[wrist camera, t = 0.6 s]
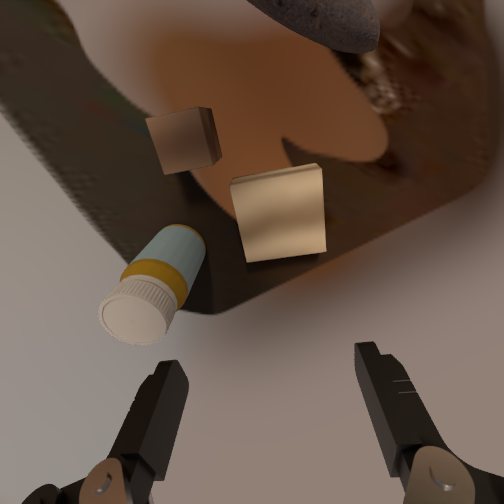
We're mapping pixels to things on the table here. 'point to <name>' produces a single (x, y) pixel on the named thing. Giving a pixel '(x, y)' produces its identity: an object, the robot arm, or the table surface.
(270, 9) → the perforated stone tool
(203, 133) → the walnut block
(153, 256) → the bottle
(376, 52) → the table surface
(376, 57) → the table surface
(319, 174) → the plinth
